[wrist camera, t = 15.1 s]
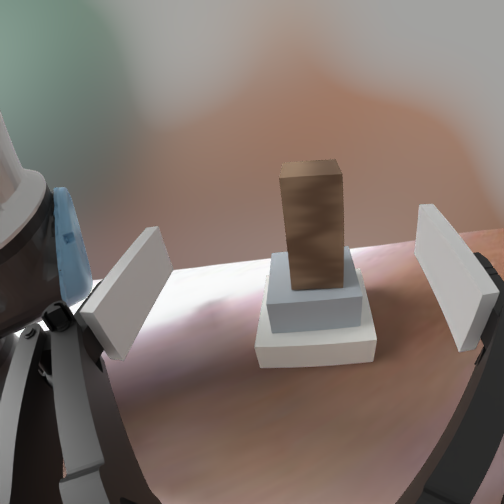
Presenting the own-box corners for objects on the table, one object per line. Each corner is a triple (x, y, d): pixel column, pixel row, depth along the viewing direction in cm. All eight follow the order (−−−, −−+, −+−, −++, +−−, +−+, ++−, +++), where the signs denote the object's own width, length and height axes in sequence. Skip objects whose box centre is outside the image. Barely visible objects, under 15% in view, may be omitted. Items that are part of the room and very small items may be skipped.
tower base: (260, 370, 31) (254, 347, 29) (270, 299, 41) (266, 275, 39) (372, 364, 28) (376, 339, 26) (359, 292, 38) (360, 268, 36)
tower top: (271, 333, 30) (266, 304, 28) (276, 280, 37) (271, 253, 35) (360, 326, 28) (362, 296, 26) (348, 274, 36) (348, 246, 34)
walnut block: (291, 289, 29) (279, 178, 23) (293, 261, 33) (282, 162, 27) (343, 287, 28) (342, 174, 22) (338, 259, 32) (335, 159, 26)
